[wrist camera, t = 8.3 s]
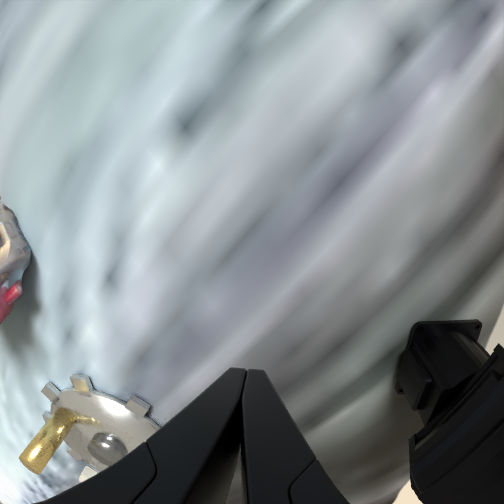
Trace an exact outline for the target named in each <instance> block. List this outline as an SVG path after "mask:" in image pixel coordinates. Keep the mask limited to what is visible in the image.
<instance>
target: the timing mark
mask: <svg viewBox="0 0 504 504" xmlns="http://www.w3.org/2000/svg"><path fill="white" fill-rule="evenodd" d="M96 474H98V473H97V472H96V471H94V470H92V469H91V468H89V467H88V466H86V467H85V468H84V470H83V472H82V474H81V476H80V478H79V481H80V482H83V481H85V480H87V479H89V478H90V477H92V476H94V475H96Z"/></svg>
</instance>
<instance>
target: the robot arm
mask: <svg viewBox="0 0 504 504" xmlns="http://www.w3.org/2000/svg"><path fill="white" fill-rule="evenodd" d="M476 325H477V326H476ZM420 327H422V328H421V329H420V330H419V331H417V330H418V328H420ZM481 328H482V323H481V322H480V321H479V320H477V319H475V320H454V321H421V322H417V323H415V325H414V326H413V329H412V332H411V336H410V340H409V344H408V347H407V349H406V350H405V352H404V355H403V358H402V362H401V365H400V368H399V372H398V375H397V378H398V380H397V383H396V386H395V390H396V392H397V394H405V395H406V397H407V399H408V402H409V404H410V406H411V408H412V409H413V410H414V411H417V410H418V412H419V414H420V416H421V419H422V421H423V423H424V425H425V427H424V428H423V429H421V430H420V431H419V432H418V433H417V434H414V435H413V436H412V437H411V438H410V439H409V457H410V481H411V488H412V489H413V490H414V492H415V494H416V495H417V496H418V499H419V500H420V501H421V502H422V503H423V504H504V348H503V347H502V346H501V345H500V344H498V345H497V346H496V347H495V348H494V352H493V353H492V354H491V356H490V355H489V353H488V352H487V351H486V350H485V349H484V348H483V347H482V346H481V345H480V344H479V343H478V342H477V340H478V337H479V334H480V331H481ZM400 388H402V389H400ZM240 447H241V486H242V504H350V503H349V502H348V501H347V500H346V499H345V498H344V496H343V495H342V494H341V493H340V492H339V490H338V489H337V488H336V486H335V485H334V484H333V482H332V481H331V479H330V478H329V476H328V475H327V474H326V472H325V471H324V469H323V467H322V466H321V464H320V463H319V461H318V460H316V457H315V455H314V453H313V452H312V450H311V448H310V447H309V445H308V444H307V442H306V440H305V439H304V437H303V435H302V434H301V432H300V430H299V429H298V427H297V425H296V424H295V422H294V420H293V419H292V417H291V415H290V414H289V412H288V410H287V409H286V407H285V405H284V403H283V402H282V400H281V398H280V397H279V395H278V393H277V391H276V390H275V388H274V386H273V385H272V383H271V381H270V379H269V378H268V376H267V374H266V372H265V371H264V370H259V369H249V370H246V369H244V368H229V369H228V370H227V371H226V372H225V373H224V374H222V375H221V376H220V377H219V378H218V379H217V380H216V381H215V382H214V383H212V384H211V385H210V386H209V387H208V388H207V389H206V390H204V391H203V392H202V393H201V394H200V395H199V396H198V397H196V398H195V399H194V400H193V401H192V402H191V403H190V404H188V405H187V406H186V407H185V408H184V409H183V410H181V411H180V412H179V413H178V414H177V415H175V416H174V417H173V418H172V419H171V420H169V421H168V422H167V423H166V424H165V425H163V426H162V427H161V428H160V429H159V430H157V431H156V432H155V433H154V434H152V435H151V436H150V437H149V438H148V439H146V442H142V443H141V444H140V445H139V446H137V447H136V448H135V449H134V450H132V451H131V452H129V453H128V454H127V455H125V456H124V457H123V458H121V459H120V460H118V461H117V462H116V463H114V464H112V465H111V466H109V467H107V468H106V469H104V470H103V471H101V472H99V473H98V474H96V475H94V476H92V477H90V478H89V479H87V480H85V481H83V482H81V483H79V484H77V485H75V486H74V487H72V488H70V489H68V490H66V491H64V492H62V493H60V494H58V495H56V496H54V497H52V498H49V499H47V500H44V501H41V502H38V503H33V504H225V502H226V499H227V495H228V492H229V488H230V485H231V482H232V478H233V474H234V471H235V467H236V464H237V460H238V456H239V452H240Z"/></svg>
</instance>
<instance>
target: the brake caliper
mask: <svg viewBox="0 0 504 504" xmlns="http://www.w3.org/2000/svg"><path fill="white" fill-rule="evenodd" d="M0 199H1V196H0ZM31 252H32V251H31V248H30V246H29V244H28V243H27V241H26V239H25V237H24V235H23V233H22V231H21V230H20V228H19V226H18V224H17V220H16V217H15V214H14V213H13V211H12V210H11V209H9V208H8V207H7V206H6V205H5V204H3V203H0V324H1V323H2V322H3V321H4V319H5V318H6V317H7V316H8V315H9V314H10V312H11V310H12V308H13V305H14V302H15V300H16V299H17V298H19V297H20V296H21V295H22V293H23V289H22V285H21V283H22V275H23V273H24V271H25V269H26V268H27V267H28V266H29V265H30V261H31Z"/></svg>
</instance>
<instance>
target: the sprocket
mask: <svg viewBox="0 0 504 504" xmlns="http://www.w3.org/2000/svg"><path fill="white" fill-rule="evenodd" d="M70 380H71V382H72V384H73V387H71V388H66V389H64V390H62V391H61V392H60V391H59V390H58V389H57V388H56V387H55V386H54V385H53V384H52V383H51V382H50V381H49V382H48V383H47V384H46V385H45V387H44V388H43V390H42V391H41V392H42V393H43V394H44V395H45V396H46V397H47V398H48V399H49V400H50V401H51V402H52V404H51V414H50V413H48V412H44V413H43V415H42V416H43V418H44V420H45V422H46V423H45V425H44V426H43V427H42V428H41V430H40V431H39V432H38V433H37V435H36V436H35V437H34V438H33V440H32V441H31V442H30V444H29V445H28V446H27V447H26V449H25V450H24V451H23V453H22V454H21V455H20V457H19V459H20V461H21V462H22V463H23V465H24V466H25V467H27V468H28V469H29V470H30V471H32V472H33V473H35V474H38V475H39V474H40V473H41V472H42V470H43V469H44V467H45V466H46V464H47V463H48V461H49V460H50V459H51V457H52V456H53V454H54V453H55V451H56V450H57V448H58V447H59V446H60V444H61V443H62V441H63V440H64V441H65V442H66V444H67V445H68V446H69V448H68V450H67V452H68V453H69V454H70V455H71V456H72V457H73V458H75V459H76V460H77V461H78V460H82V459H83V460H84V461H86V462H87V463H88V464H90V465H91V466H93V467H94V468H96V469H98V470H99V471H103V470H104V469H106V468H107V467H109V466H111V465H112V464H114V463H116V462H117V461H118V460H120V459H121V458H123V457H124V456H125V455H127V454H128V453H129V452H131V451H132V450H134V449H135V448H136V447H137V446H139V445H140V444H141V443H142V442H146V439H148V438H149V437H150V436H151V435H152V434H154V433H155V432H156V431H157V430H159V429H160V428H161V427H160V426H159V425H157V424H156V423H155V422H154V421H153V420H152V419H150V418H149V417H148V416H146V415H145V414H146V412H147V411H148V409H149V407H150V405H149V404H147V403H146V402H144V401H143V400H141V399H140V398H138V397H136V396H135V395H132V396H131V398H130V399H129V401H128V402H127V403H126V402H124V401H122V400H120V399H118V398H116V397H114V396H112V395H109V394H107V393H104V392H101V391H98V390H95V389H93V387H92V384H91V382H90V380H89V377H88V376H85V375H78V374H73V375H72V376H71V377H70Z"/></svg>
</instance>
